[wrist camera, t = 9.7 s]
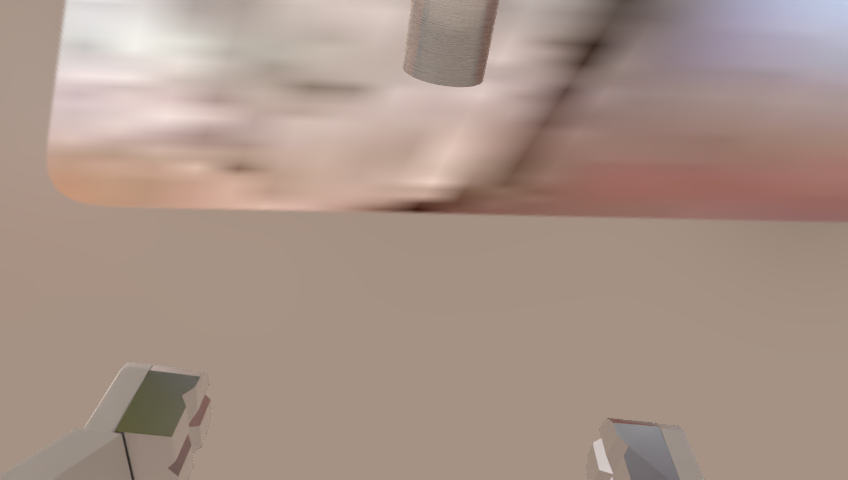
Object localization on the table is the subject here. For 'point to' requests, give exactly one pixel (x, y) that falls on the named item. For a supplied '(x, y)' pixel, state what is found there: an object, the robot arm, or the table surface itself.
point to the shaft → (449, 40)
